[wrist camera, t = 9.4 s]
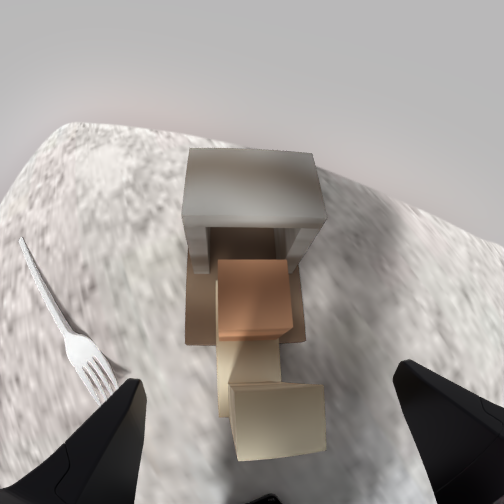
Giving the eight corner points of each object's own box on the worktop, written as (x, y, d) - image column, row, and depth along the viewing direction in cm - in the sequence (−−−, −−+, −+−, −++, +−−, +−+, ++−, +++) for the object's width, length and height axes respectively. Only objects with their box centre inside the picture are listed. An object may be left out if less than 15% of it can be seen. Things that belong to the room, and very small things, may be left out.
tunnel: (302, 342, 21) (354, 316, 13) (186, 345, 20) (161, 321, 12) (285, 191, 27) (309, 118, 19) (193, 189, 26) (187, 111, 18)
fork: (33, 231, 23) (24, 222, 21) (132, 387, 18) (123, 387, 17) (14, 250, 22) (5, 242, 20) (106, 410, 17) (97, 412, 15)
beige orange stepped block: (280, 412, 17) (344, 446, 7) (219, 415, 17) (216, 461, 7) (272, 283, 22) (316, 198, 12) (215, 284, 21) (213, 195, 11)
